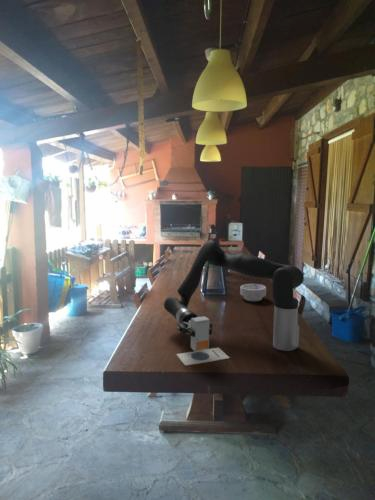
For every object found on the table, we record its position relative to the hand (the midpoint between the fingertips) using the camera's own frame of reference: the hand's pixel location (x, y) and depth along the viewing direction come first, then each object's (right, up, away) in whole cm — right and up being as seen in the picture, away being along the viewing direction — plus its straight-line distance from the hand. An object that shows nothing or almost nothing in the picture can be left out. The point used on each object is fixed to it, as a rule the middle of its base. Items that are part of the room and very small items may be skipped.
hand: (202, 333), depth 137 cm
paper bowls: (+33, +1, +81) cm, 88 cm away
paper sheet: (0, -10, +4) cm, 11 cm away
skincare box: (-1, -7, +3) cm, 8 cm away
